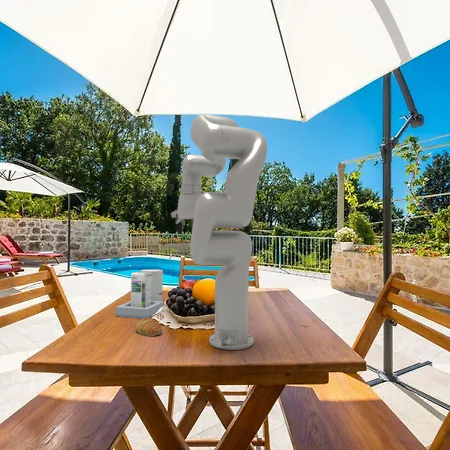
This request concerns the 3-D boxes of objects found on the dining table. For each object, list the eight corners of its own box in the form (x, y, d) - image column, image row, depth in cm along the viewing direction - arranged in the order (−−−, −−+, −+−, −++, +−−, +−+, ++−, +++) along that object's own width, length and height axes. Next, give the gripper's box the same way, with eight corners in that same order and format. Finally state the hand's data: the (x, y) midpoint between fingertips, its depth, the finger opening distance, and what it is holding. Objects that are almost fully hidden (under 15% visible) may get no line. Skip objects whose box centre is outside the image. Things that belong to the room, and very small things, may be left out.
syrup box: (130, 312, 119) (130, 273, 119) (138, 308, 125) (138, 271, 125) (143, 313, 118) (144, 273, 118) (151, 309, 123) (151, 271, 124)
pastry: (167, 334, 98) (167, 321, 98) (148, 339, 93) (148, 326, 93) (151, 327, 105) (151, 315, 105) (132, 332, 100) (132, 320, 100)
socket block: (147, 319, 113) (147, 309, 113) (115, 316, 117) (115, 306, 117) (163, 310, 126) (163, 301, 126) (134, 308, 129) (134, 299, 129)
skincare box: (143, 307, 131) (144, 271, 131) (139, 304, 136) (139, 269, 136) (163, 305, 135) (163, 269, 136) (157, 302, 140) (158, 268, 141)
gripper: (167, 190, 125) (167, 233, 125) (209, 189, 121) (209, 234, 120) (175, 192, 132) (175, 233, 132) (215, 191, 128) (215, 234, 127)
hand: (191, 233), depth 126 cm, fingers open, 9 cm apart
